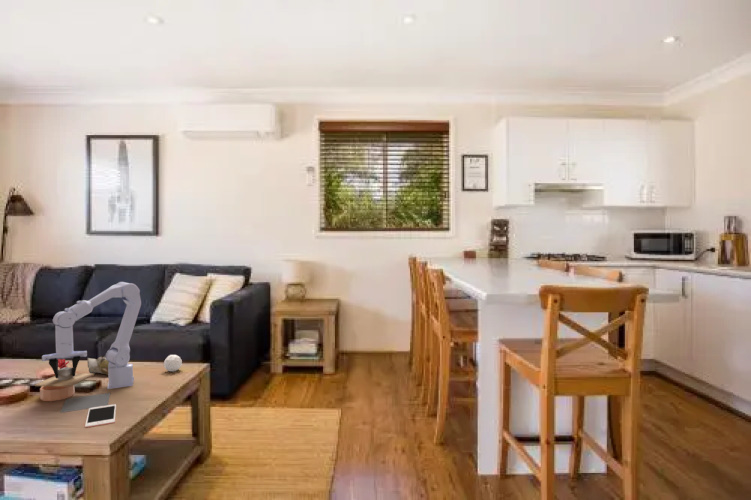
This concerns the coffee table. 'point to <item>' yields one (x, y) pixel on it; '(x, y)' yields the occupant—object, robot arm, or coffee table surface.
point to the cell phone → (101, 415)
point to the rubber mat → (85, 402)
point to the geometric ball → (172, 363)
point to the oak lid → (65, 378)
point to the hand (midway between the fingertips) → (65, 376)
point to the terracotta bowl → (56, 392)
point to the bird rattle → (62, 363)
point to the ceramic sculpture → (98, 365)
